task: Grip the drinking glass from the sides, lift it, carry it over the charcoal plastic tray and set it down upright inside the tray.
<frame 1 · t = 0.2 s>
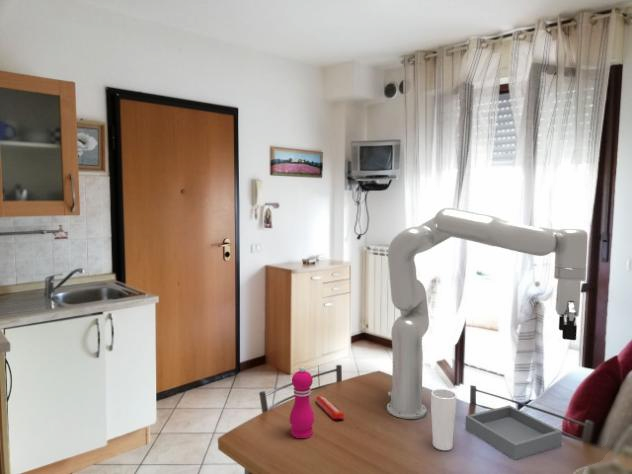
hand: (567, 334, 123), 31 cm above the table, tool pointing down, fingers open, 9 cm apart
tray: (511, 436, 128), on the table
drinking glass: (442, 447, 122), on the table
pepper mill: (301, 434, 128), on the table
candy bar: (329, 412, 143), on the table
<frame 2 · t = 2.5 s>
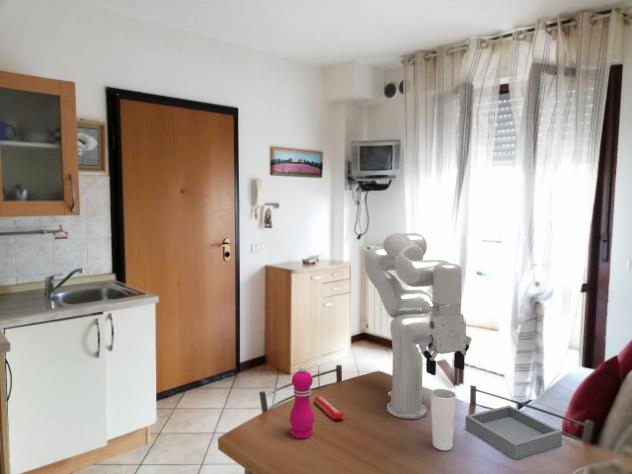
hand: (445, 371, 120), 21 cm above the table, tool pointing down, fingers open, 9 cm apart
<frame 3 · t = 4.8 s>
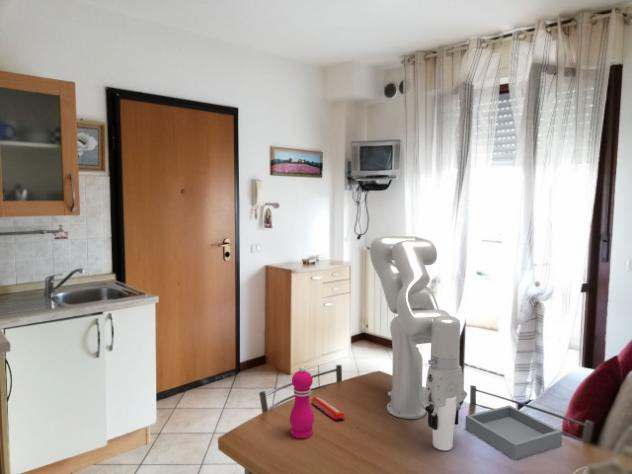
hand: (443, 424, 122), 6 cm above the table, tool pointing down, fingers closed on drinking glass, 6 cm apart
drinking glass: (442, 447, 122), on the table, touching gripper
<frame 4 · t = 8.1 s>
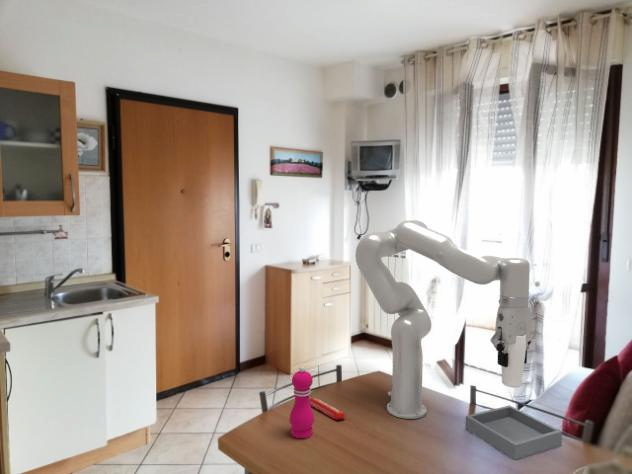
hand: (512, 363, 126), 22 cm above the table, tool pointing down, fingers closed on drinking glass, 6 cm apart
drinking glass: (511, 385, 126), point 15 cm above the table, touching gripper
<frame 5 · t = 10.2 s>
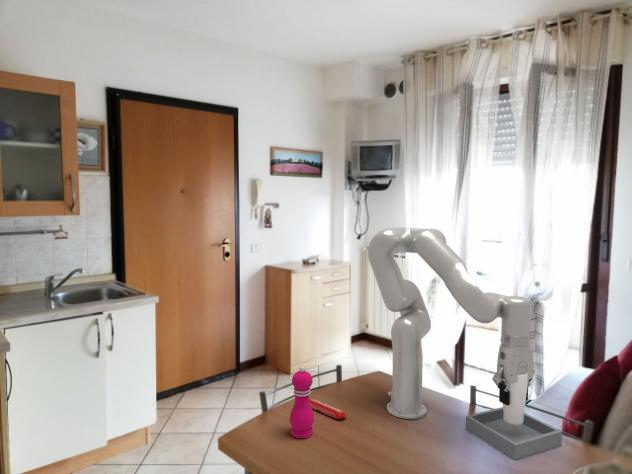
hand: (513, 400, 127), 11 cm above the table, tool pointing down, fingers closed on drinking glass, 6 cm apart
drinking glass: (513, 422, 127), point 4 cm above the table, touching gripper
when the fingers open (8 cm above the table, at t = 11.7 s): drinking glass stays where it is, resting on tray.
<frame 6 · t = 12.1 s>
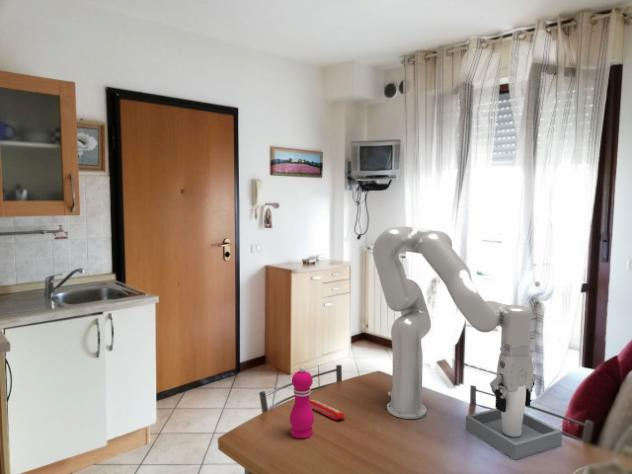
hand: (512, 407, 127), 9 cm above the table, tool pointing down, fingers open, 9 cm apart
drinking glass: (511, 434, 128), point 1 cm above the table, touching tray
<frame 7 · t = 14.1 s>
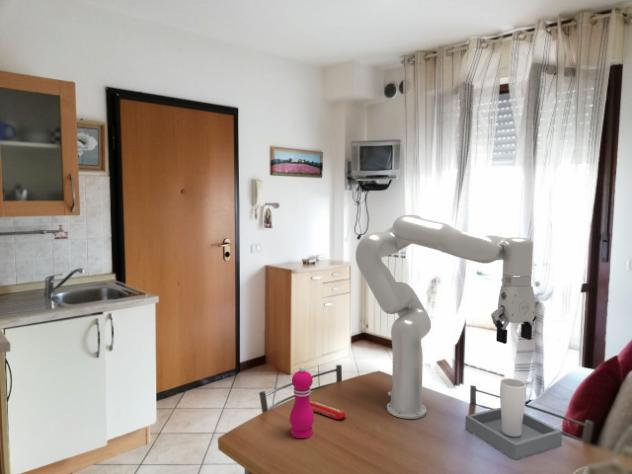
hand: (513, 340, 126), 28 cm above the table, tool pointing down, fingers open, 9 cm apart
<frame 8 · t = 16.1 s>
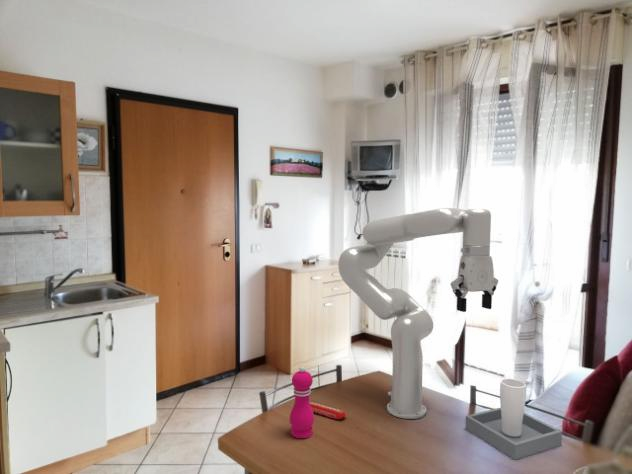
hand: (474, 309, 129), 36 cm above the table, tool pointing down, fingers open, 9 cm apart
at the end: drinking glass inside the target area on the tray (0.1 cm from its centre), point 0.8 cm above the tray's base; drinking glass tilted 0°; the gripper is holding nothing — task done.
